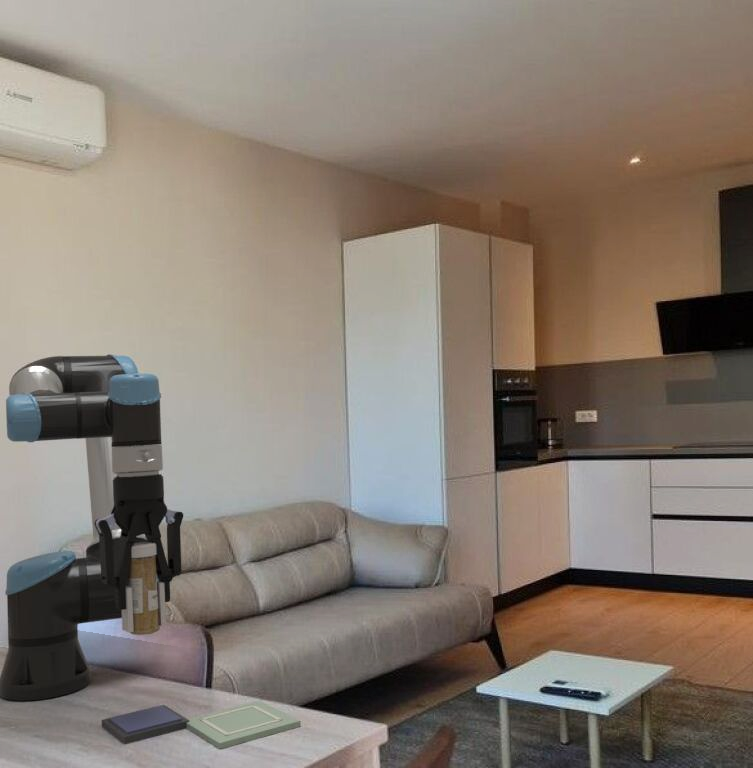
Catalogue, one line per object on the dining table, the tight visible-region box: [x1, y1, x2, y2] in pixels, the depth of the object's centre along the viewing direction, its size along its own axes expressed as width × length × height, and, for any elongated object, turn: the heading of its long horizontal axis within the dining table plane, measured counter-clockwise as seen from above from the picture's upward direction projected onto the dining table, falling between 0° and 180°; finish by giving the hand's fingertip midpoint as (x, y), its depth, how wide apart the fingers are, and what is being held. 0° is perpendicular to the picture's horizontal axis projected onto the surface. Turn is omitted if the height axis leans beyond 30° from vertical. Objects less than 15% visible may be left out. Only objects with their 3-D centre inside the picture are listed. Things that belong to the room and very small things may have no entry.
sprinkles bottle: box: [128, 542, 161, 636], centre depth 134 cm, size 5×5×13 cm
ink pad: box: [101, 704, 189, 745], centre depth 133 cm, size 10×10×1 cm
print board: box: [186, 700, 302, 750], centre depth 131 cm, size 13×13×1 cm
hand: (144, 627), depth 134 cm, fingers closed on sprinkles bottle, 4 cm apart
